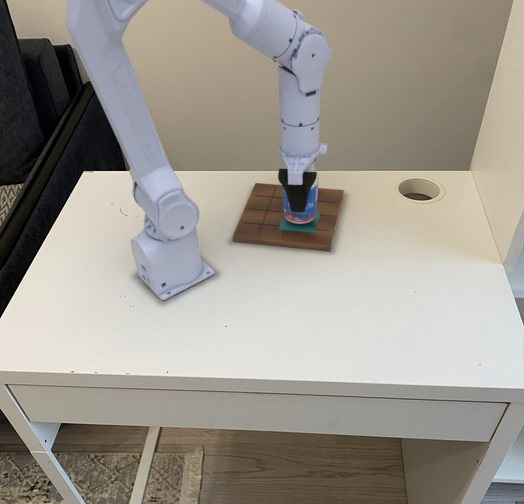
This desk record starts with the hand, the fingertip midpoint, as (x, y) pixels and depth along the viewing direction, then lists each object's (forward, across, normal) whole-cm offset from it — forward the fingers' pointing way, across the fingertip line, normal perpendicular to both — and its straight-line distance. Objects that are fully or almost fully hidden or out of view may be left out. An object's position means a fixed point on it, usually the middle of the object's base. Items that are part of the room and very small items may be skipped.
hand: (299, 200), depth 87 cm
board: (+5, +2, +2) cm, 6 cm away
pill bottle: (+3, 0, 0) cm, 3 cm away
